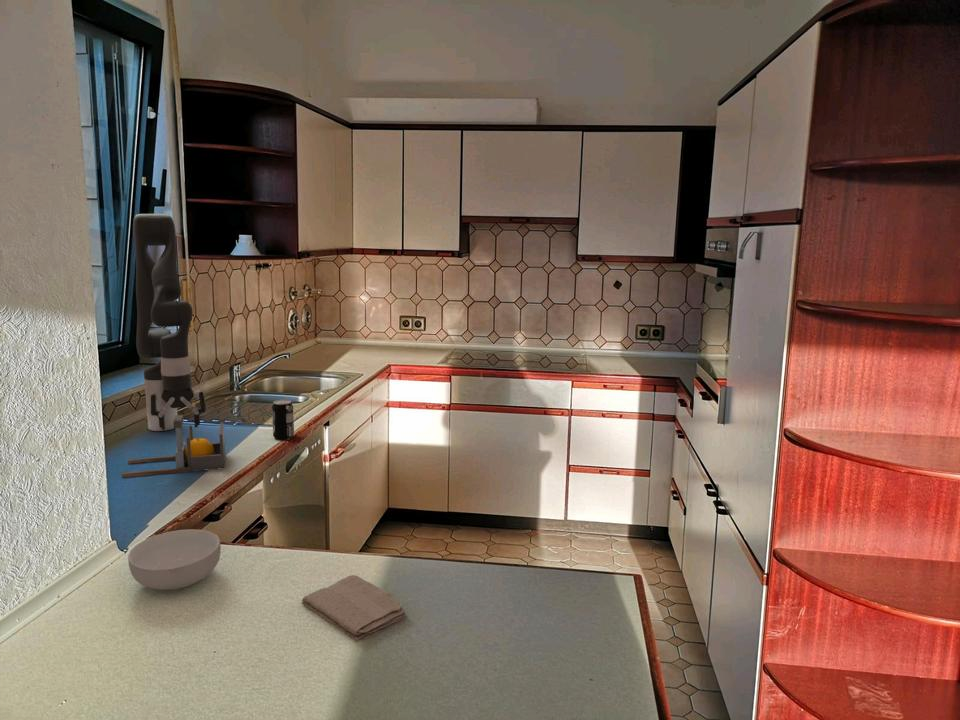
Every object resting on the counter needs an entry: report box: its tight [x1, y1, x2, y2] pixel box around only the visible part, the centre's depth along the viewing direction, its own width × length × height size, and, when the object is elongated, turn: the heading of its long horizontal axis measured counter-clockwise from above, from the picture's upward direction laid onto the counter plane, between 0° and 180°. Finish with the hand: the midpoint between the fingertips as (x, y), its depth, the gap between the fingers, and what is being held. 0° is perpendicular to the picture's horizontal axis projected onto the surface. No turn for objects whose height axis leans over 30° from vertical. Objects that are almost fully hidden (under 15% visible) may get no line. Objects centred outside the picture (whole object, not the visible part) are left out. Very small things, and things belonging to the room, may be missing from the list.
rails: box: [121, 455, 190, 478], centre depth 203 cm, size 12×17×1 cm
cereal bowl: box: [127, 528, 222, 591], centre depth 141 cm, size 17×17×7 cm
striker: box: [173, 414, 187, 468], centre depth 204 cm, size 9×2×14 cm, turn 18°
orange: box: [185, 437, 214, 462], centre depth 206 cm, size 8×8×8 cm
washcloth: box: [301, 574, 408, 642], centre depth 131 cm, size 12×18×3 cm, turn 47°
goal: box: [186, 422, 226, 472], centre depth 207 cm, size 12×9×10 cm
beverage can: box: [271, 398, 295, 441], centre depth 231 cm, size 7×7×12 cm
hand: (180, 427), depth 203 cm, fingers open, 8 cm apart
